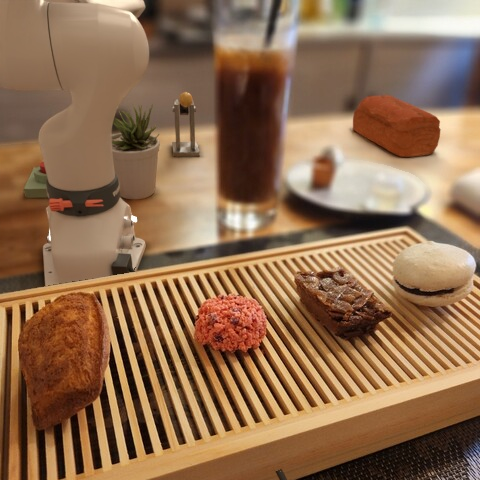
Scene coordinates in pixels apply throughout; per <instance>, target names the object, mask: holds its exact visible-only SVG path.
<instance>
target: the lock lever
mask: <svg viewBox="0 0 480 480" xmlns="http://www.w3.org/2000/svg"><path fill="white" fill-rule="evenodd" d="M192 102H194V99H193V96H192V94H191V93H189V92H187V91H184V92H182V93H180V95H179V98H178V103H179V116H189V115H190V113H189V106H191V104H192Z"/></svg>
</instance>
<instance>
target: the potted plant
mask: <svg viewBox="0 0 480 480" xmlns="http://www.w3.org/2000/svg"><path fill="white" fill-rule="evenodd" d="M131 104H132V107H133V110H134V114H135V121H134V119H133V117H132V115H131V114H130V113H129V112H128V111H124V110H123V109H121V112H122V113H123V114H124V115H125V116H126V118H127V119H128V121H129V123H128V122H127V121H126V120H125V118H124V117H123V114H122V113H121V112H120V110H119V108H118V109H117V113H119V116H120V118H121V119H118V118H116V116H115V117H114V120H113V126H115V128H116V129H118V131H119V133H113V134H112V154H113V163H114V171H115V173H116V174H117V176H118V180H119V183H120V197H121V198H122V199H125V200H143V199H147V198H149V197H151V196H152V195H153V194H154V193H155V191H156V186H157V185H156V183H157V173H158V172H157V171H158V158H159V157H158V156H159V151H160V144H161V143H160V140H159V138H158V137H159V136H160V133H158V134H157V135H156V136H154V135H152V133H153V132H154V131H155V129H157V124H155V125H154V126H153V127H150V129H149V130H148V126H149V123H150V118H151V112H152V109H153V103H152V104H151V107H150V108H149V110H148V114H147V117H146V111H144V112H143V115H142V105H141V106H140V105H138V110H139V113H138V110H137V109H136V107H135V105H134V104H133V102H131Z"/></svg>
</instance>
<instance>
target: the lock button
mask: <svg viewBox="0 0 480 480" xmlns="http://www.w3.org/2000/svg"><path fill="white" fill-rule="evenodd" d="M39 166H40V170H41V173H44V174H46V170H45V166H44V162H43V161H40V162H39V165H38V167H39Z"/></svg>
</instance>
